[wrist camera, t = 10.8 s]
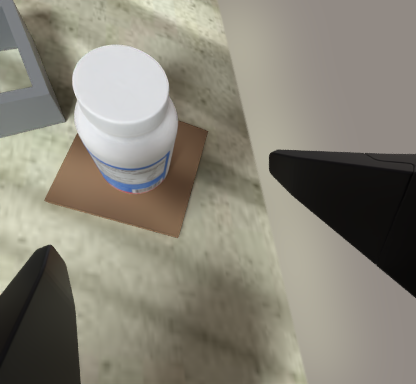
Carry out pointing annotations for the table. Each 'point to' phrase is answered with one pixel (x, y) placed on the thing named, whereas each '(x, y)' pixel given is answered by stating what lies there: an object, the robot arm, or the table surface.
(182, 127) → the walnut coaster
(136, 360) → the table surface
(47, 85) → the holder box
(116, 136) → the pill bottle
